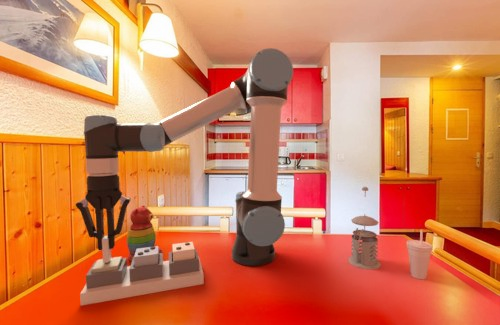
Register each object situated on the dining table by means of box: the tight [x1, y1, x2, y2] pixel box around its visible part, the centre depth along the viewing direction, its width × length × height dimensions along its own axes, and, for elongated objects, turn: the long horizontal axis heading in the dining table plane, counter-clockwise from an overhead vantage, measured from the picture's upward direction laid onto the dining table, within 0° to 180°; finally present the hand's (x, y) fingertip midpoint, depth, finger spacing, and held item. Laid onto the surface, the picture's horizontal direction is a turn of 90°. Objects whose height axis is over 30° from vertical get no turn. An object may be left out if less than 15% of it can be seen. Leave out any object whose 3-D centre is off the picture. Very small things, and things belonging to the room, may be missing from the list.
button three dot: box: [134, 245, 160, 267], centre depth 72 cm, size 6×6×4 cm
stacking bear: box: [126, 205, 163, 263], centre depth 90 cm, size 11×10×18 cm
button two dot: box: [172, 241, 195, 262], centre depth 75 cm, size 6×6×4 cm
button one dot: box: [92, 256, 123, 273], centre depth 69 cm, size 6×6×4 cm
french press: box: [348, 186, 382, 270], centre depth 82 cm, size 10×12×25 cm
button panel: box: [79, 247, 205, 306], centre depth 73 cm, size 30×12×6 cm, turn 108°
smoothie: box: [406, 228, 434, 280], centre depth 74 cm, size 6×6×14 cm
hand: (107, 260), depth 69 cm, fingers closed
